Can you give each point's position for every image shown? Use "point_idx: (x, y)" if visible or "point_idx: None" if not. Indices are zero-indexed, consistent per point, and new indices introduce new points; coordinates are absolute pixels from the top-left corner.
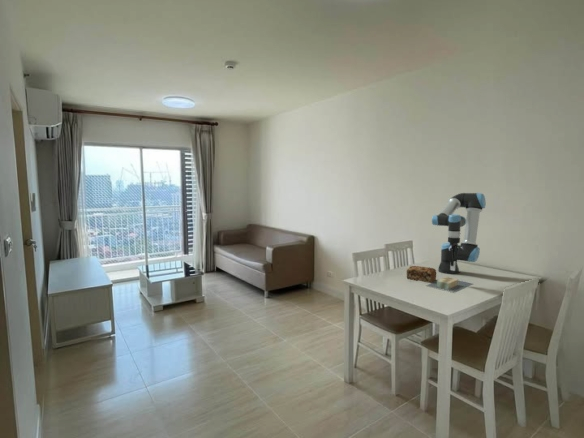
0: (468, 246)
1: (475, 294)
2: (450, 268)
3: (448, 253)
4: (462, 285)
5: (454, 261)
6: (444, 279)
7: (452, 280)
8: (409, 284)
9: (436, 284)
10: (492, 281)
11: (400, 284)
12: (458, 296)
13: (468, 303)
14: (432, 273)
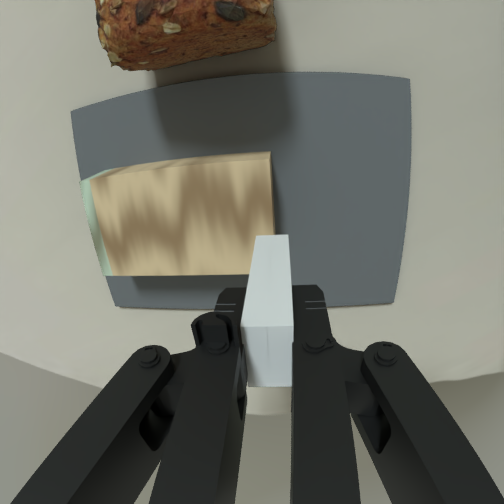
0: None
1: None
2: (254, 247)
3: (29, 482)
4: (293, 275)
5: (259, 383)
6: (167, 194)
7: (200, 257)
8: (36, 34)
9: (146, 133)
10: (501, 323)
11: (10, 20)
12: (98, 329)
13: (79, 373)
14: (154, 49)
